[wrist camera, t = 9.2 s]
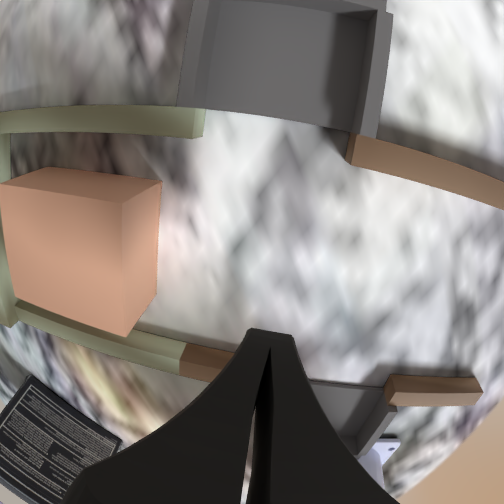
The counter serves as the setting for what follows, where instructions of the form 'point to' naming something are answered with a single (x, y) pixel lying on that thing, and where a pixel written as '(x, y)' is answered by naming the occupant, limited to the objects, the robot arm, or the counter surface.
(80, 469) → the small box
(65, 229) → the block
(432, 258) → the counter surface
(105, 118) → the lane
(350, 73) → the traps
